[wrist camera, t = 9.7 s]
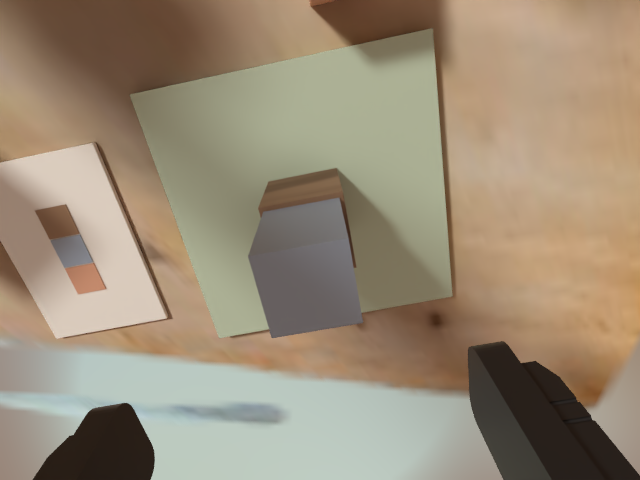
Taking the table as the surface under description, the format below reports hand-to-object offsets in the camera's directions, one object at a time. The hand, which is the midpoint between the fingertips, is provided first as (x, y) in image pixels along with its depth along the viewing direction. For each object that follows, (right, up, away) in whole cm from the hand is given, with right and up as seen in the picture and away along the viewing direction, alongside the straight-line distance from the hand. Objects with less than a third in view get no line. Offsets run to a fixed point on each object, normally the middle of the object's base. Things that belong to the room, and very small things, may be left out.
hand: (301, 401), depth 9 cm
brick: (0, +4, +14) cm, 15 cm away
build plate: (0, +7, +21) cm, 22 cm away
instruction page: (-19, +3, +22) cm, 29 cm away
